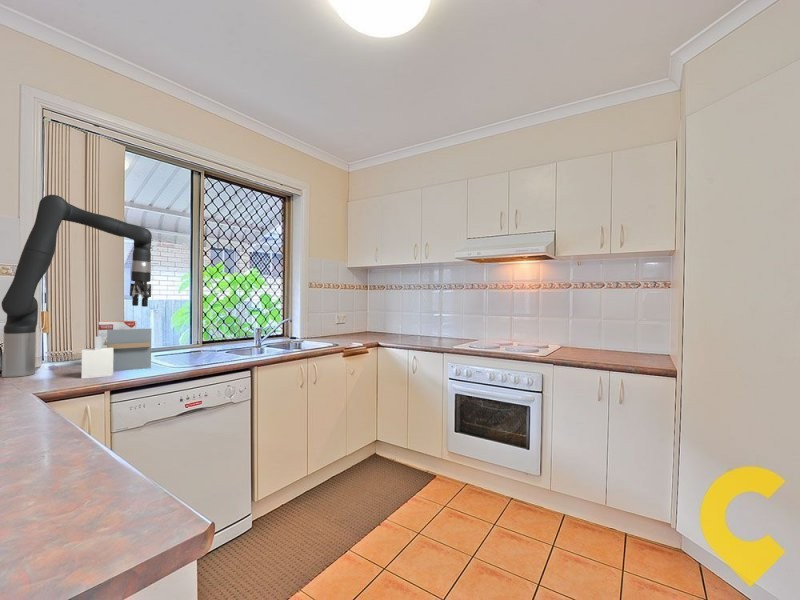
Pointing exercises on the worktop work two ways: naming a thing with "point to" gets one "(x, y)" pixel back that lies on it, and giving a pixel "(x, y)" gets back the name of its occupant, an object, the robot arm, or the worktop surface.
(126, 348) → the wall board
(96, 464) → the worktop surface
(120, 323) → the cracker box
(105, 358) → the white block
